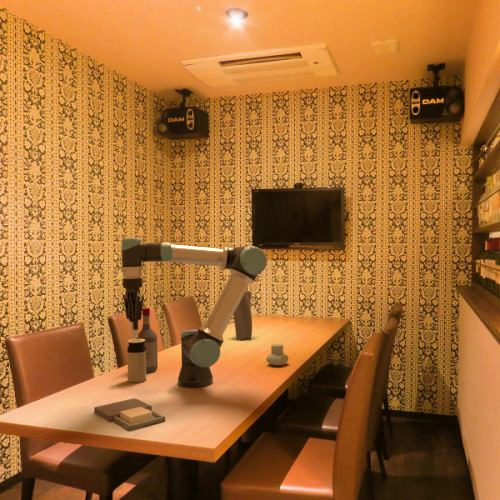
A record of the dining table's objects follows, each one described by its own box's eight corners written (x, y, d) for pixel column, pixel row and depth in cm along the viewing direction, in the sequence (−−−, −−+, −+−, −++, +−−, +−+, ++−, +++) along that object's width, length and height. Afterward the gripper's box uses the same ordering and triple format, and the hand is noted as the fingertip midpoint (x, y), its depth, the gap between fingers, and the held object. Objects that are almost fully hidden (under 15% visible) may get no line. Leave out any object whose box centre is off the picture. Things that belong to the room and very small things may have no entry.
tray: (148, 412, 180) (148, 408, 180) (165, 421, 171) (165, 416, 171) (114, 421, 172) (114, 416, 172) (130, 430, 162) (130, 426, 162)
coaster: (141, 413, 178) (141, 406, 178) (152, 419, 172) (152, 412, 172) (120, 418, 173) (119, 411, 173) (130, 425, 167) (130, 417, 167)
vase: (243, 341, 310) (242, 293, 309) (229, 339, 318) (228, 292, 318) (256, 338, 318) (255, 291, 318) (242, 336, 327) (241, 290, 327)
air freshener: (278, 368, 242) (277, 347, 242) (264, 366, 247) (263, 345, 247) (290, 363, 250) (290, 343, 250) (276, 361, 255) (276, 342, 255)
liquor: (155, 372, 237) (153, 309, 236) (135, 373, 237) (134, 309, 236) (158, 368, 246) (157, 307, 246) (139, 368, 246) (138, 307, 245)
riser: (134, 403, 191) (134, 398, 191) (151, 411, 181) (151, 406, 181) (94, 412, 181) (94, 407, 181) (109, 422, 171) (109, 416, 171)
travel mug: (138, 383, 218) (138, 342, 218) (124, 381, 222) (123, 341, 221) (149, 379, 225) (149, 339, 225) (135, 377, 229) (134, 338, 229)
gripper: (115, 277, 198) (117, 337, 199) (131, 278, 189) (134, 341, 189) (132, 276, 203) (134, 334, 204) (149, 277, 194) (151, 338, 194)
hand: (134, 337), depth 196 cm, fingers closed
